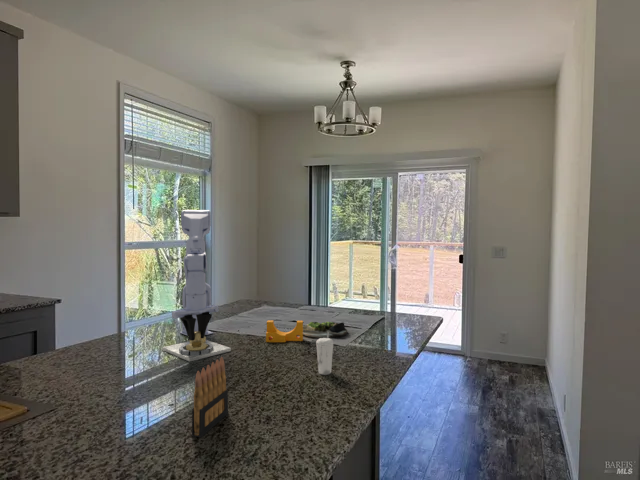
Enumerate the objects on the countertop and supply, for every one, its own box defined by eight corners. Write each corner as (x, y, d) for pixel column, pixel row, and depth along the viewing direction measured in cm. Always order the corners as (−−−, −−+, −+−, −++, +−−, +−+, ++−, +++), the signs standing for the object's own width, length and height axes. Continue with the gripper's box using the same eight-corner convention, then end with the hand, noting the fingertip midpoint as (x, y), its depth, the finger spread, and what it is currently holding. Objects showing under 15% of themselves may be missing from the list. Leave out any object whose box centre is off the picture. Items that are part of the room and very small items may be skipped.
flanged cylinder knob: (183, 349, 131) (183, 331, 131) (203, 346, 134) (203, 328, 134) (189, 354, 126) (188, 335, 126) (209, 351, 129) (209, 333, 129)
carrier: (162, 350, 134) (162, 337, 133) (202, 341, 144) (202, 329, 144) (189, 361, 123) (189, 347, 122) (230, 351, 133) (230, 338, 133)
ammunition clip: (220, 412, 89) (219, 354, 89) (228, 413, 89) (228, 355, 89) (191, 436, 79) (190, 371, 79) (200, 438, 79) (199, 372, 78)
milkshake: (336, 369, 115) (336, 332, 115) (330, 376, 110) (330, 337, 110) (320, 368, 117) (320, 331, 117) (313, 374, 112) (313, 336, 111)
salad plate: (295, 341, 145) (295, 327, 145) (290, 329, 163) (290, 316, 163) (351, 338, 148) (351, 325, 148) (340, 327, 166) (340, 315, 166)
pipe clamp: (265, 342, 143) (265, 323, 143) (267, 339, 148) (267, 320, 147) (302, 342, 143) (302, 323, 143) (303, 339, 147) (303, 320, 147)
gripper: (180, 298, 122) (180, 346, 122) (224, 292, 132) (224, 336, 133) (168, 295, 127) (168, 341, 127) (211, 290, 137) (211, 332, 137)
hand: (196, 338), depth 130 cm, fingers closed on flanged cylinder knob, 3 cm apart
